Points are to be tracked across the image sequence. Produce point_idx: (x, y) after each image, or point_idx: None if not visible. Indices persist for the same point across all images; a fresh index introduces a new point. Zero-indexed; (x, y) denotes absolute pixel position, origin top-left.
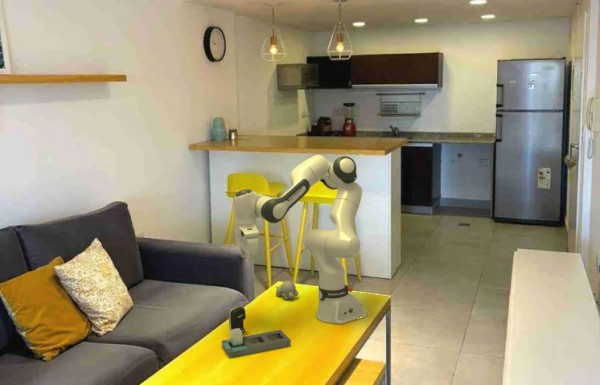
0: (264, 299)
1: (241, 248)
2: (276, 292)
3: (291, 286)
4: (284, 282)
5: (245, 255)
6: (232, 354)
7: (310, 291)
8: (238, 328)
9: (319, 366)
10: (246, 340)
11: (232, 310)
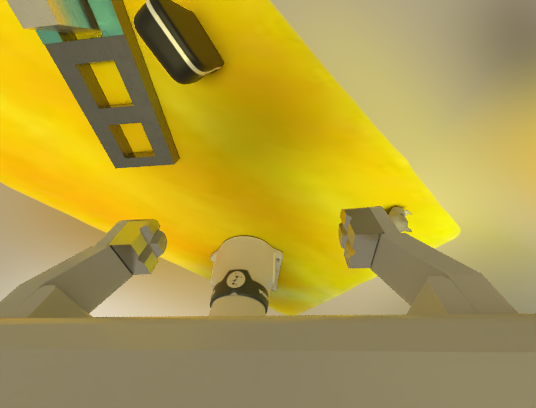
0: (399, 177)
1: (284, 323)
2: (399, 211)
3: None
4: None
5: (345, 244)
6: None
7: None
8: (53, 19)
9: (41, 184)
10: (102, 55)
11: (145, 13)
